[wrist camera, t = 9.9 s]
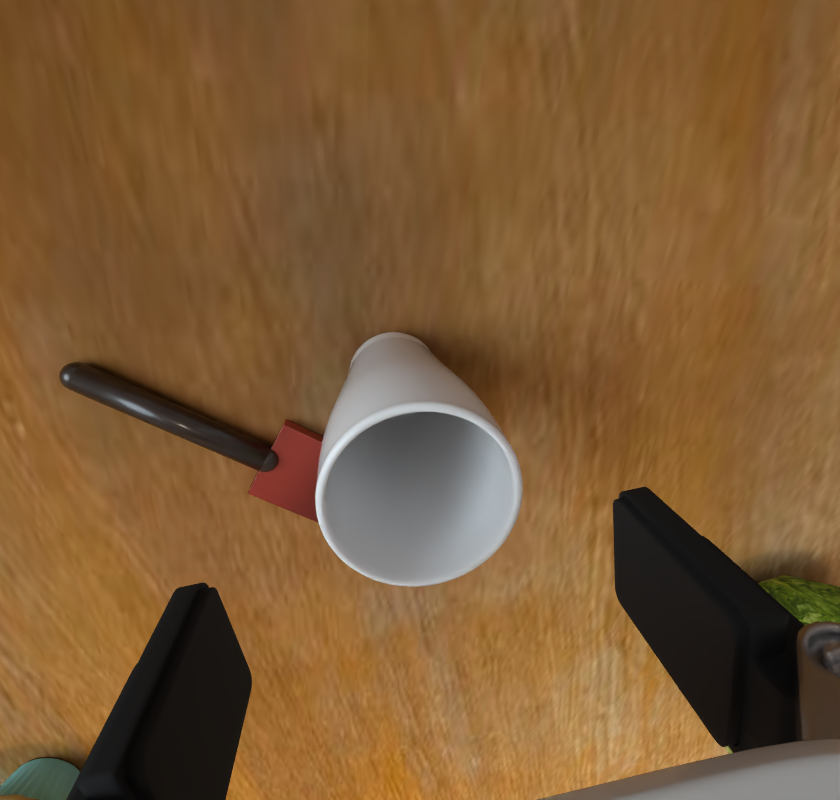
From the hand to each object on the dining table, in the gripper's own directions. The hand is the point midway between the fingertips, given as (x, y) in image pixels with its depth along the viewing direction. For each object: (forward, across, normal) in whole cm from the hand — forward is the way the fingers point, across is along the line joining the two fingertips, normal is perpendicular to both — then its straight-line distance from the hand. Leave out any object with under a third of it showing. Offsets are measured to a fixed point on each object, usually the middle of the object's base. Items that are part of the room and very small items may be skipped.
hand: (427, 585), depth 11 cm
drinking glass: (+19, 0, +1) cm, 19 cm away
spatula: (+19, +9, +4) cm, 21 cm away
